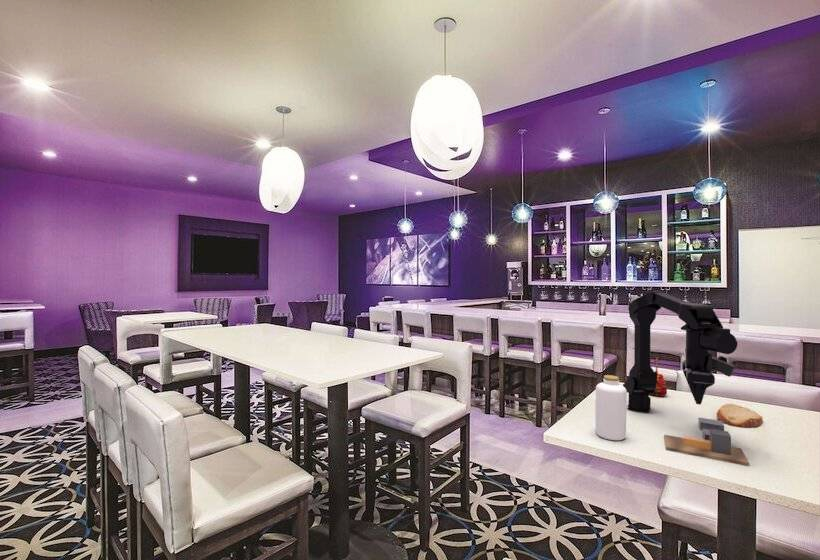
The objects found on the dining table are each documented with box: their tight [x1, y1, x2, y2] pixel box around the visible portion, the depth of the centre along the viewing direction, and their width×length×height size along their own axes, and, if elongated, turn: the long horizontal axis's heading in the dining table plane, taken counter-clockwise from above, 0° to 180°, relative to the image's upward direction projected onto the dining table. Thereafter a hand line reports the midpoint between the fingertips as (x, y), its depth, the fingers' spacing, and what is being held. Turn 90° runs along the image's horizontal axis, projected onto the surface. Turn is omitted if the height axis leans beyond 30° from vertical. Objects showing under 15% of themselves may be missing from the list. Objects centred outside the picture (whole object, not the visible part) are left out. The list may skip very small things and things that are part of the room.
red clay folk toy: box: [649, 357, 668, 398], centre depth 161 cm, size 8×7×15 cm
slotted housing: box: [697, 417, 725, 440], centre depth 120 cm, size 6×16×2 cm, turn 149°
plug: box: [683, 429, 732, 455], centre depth 110 cm, size 10×4×5 cm, turn 60°
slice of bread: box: [716, 403, 764, 429], centre depth 136 cm, size 18×18×4 cm
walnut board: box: [663, 434, 750, 467], centre depth 110 cm, size 18×10×1 cm, turn 59°
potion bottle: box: [594, 374, 628, 441], centre depth 119 cm, size 8×8×18 cm
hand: (696, 399), depth 117 cm, fingers open, 9 cm apart
